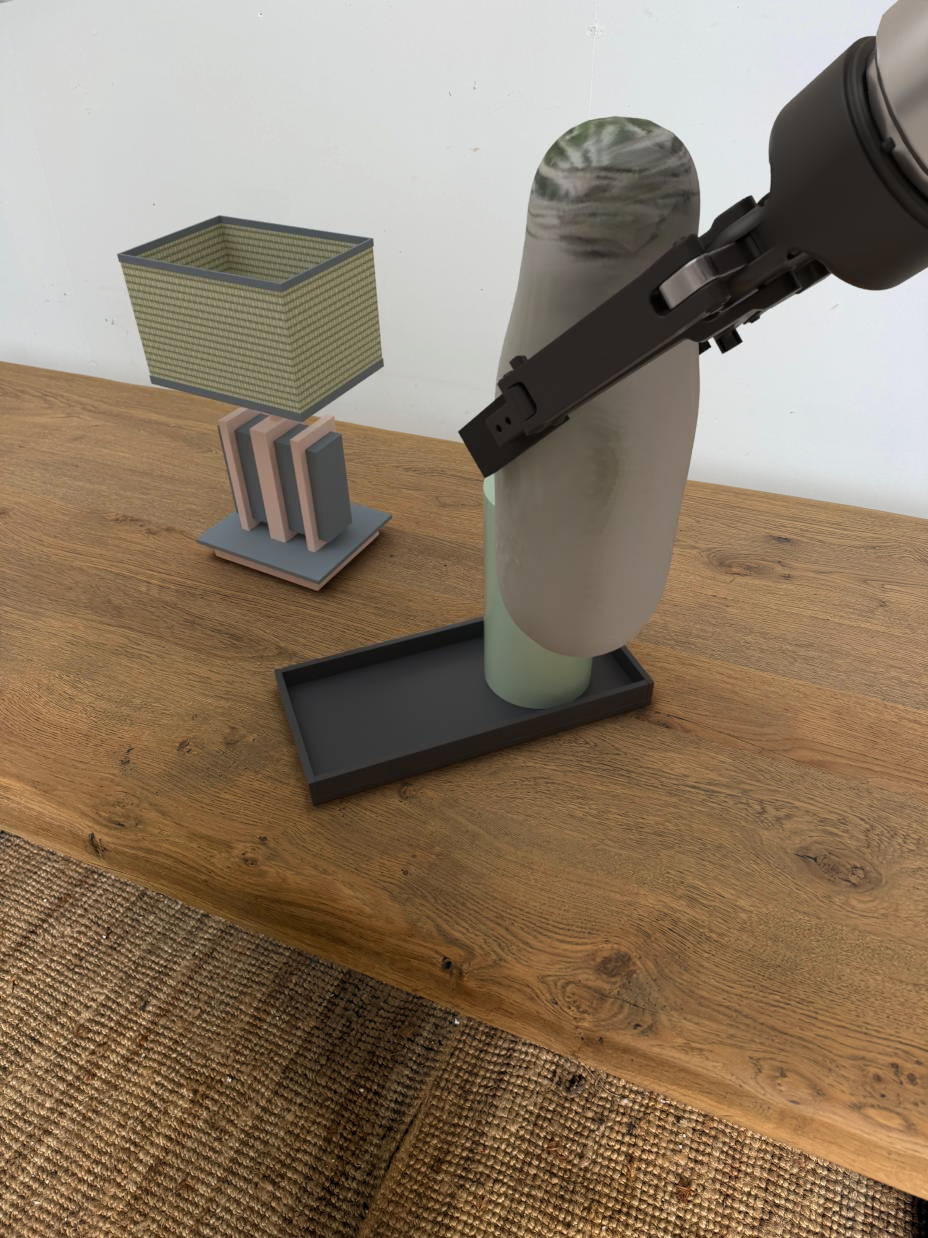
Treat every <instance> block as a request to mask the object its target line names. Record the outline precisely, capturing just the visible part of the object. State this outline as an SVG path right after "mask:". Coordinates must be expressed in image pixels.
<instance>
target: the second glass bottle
mask: <svg viewBox="0 0 928 1238" xmlns="http://www.w3.org/2000/svg"><path fill="white" fill-rule="evenodd" d="M482 524H483V525H482V544H483V545H482V548H483V549H482V552H483V553H482V555H483V556H482V557H483V558H482V561H483V562H482V563H483V567H482V569H483V570H482V571H483V573H482V575H483V616H484V675H485V679H486V681H487V683H488V685H489V687H490V688H491V689H492V690H493V692H494V693H495V694H497V695H498V696H499V697H500V698H502V699H504V700H505V701H507V702H509V703H512V704H514V705H517V706H520V707H525V708H531V709H547V708H551V707H554V706H558V705H561V704H565V703H568V702H571V701H574V700H575V699H577V698H578V697H580V696H581V695H582V694H583V693H584V691H585V690H586V689H587V687H588V686H589V683H590V681H591V675H592V665H593V657H590V658H586V657H570V656H564V655H560V654H557V653H554V652H551V651H549V650H547V649H545V648H543V647H542V646H540V645H539V644H538V643H536V642H535V641H534V640H532V639H531V638H530V637H528V636H527V635H526V634H525V633H524V632H523V631H522V630H521V629H520V628H519V627H518V626H517V625H516V624H515V622H514V621H513V620H512V618H511V617H510V615H509V613H508V611H507V609H506V607H505V605H504V602H503V600H502V597H501V594H500V590H499V585H498V580H497V573H496V562H495V484H494V474H492V475H490V476H488V477H487V478H484V481H483V483H482Z"/></svg>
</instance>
